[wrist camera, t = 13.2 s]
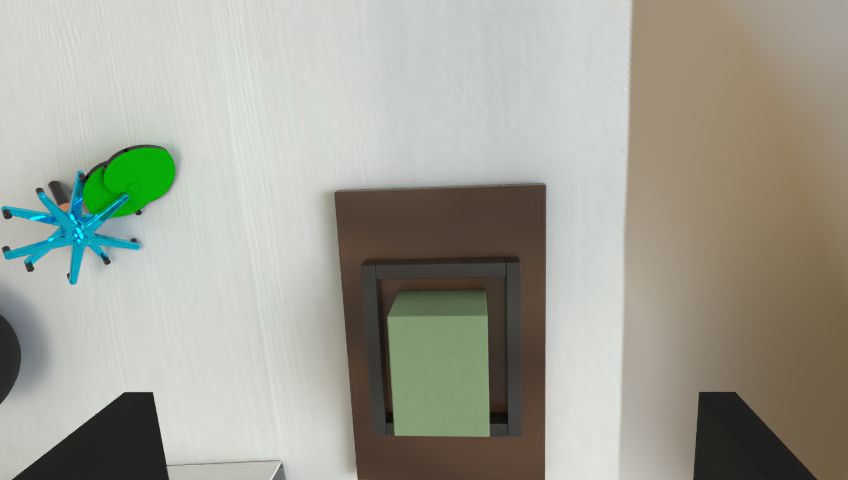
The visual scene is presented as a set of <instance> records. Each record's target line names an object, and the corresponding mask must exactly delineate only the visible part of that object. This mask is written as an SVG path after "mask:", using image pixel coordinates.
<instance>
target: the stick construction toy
mask: <svg viewBox="0 0 848 480" xmlns="http://www.w3.org/2000/svg"><path fill="white" fill-rule="evenodd" d="M174 177H175V165H174V161H173V159H172V157H171V155H170V154H169V153H168V151H167V150H166V149H165V148H163V147H160V146H155V145H137V146H132V147H128V148H126V149H123V150H121V151H119V152H117V153H116V154H114V155H113V156H112V157H111V158H110V159H109V160H108V161H105V162H103V163H100V164H99V165H97V166H95V167H94V168H93V169H92V170H90V172H89V173H88V174H87V175H86V176H85V174H84V172H83V171H81V170H79V171H77V174H76V178H75V183H74V188H73V192H72V197H71V202H70V201H69V199H68V197H67V195H66V193H65V191H64V189H63V187H62V185H61V183H60V182H59V181H52V182H50V183H49V184H48V187H49V189H50V191H51V193H52V195H53V197H54V199H55V202H56V204H57V205H56V204H55V203H54V202H53V201H52V200H51V199H50V198H49V197H48V196H47V195H46V194H45V192H44V190H43V188H37V189H36V192H37V195H38V197H39V199H40V200H41V201H42V203H43V204H44V205H45V206H46V207H47V209H48V210H49V211H50V212H51V213H52V214H51V213H45V212H39V211H33V210H27V209H21V208H15V207H9V206H3V207H2V208H1V210H2V213H3V215H4V218H5V219H10V218H12V216H17V217H21V218H26V219H30V220H34V221H39V222H43V223H47V224H52V225H56V226H60V227H59V228H58V229H57V230H56V231H55V232H54V233H53V234H52V235H51V236H50V237H49V238H48V239H47V240H45V241H42V242H38V243H35V244H32V245H28V246H25V247H22V248H18V249H15V250H10V247H8V246H5V247H3V248H2V251H3V254H4V256H5V258H6V259H13V258H17V257H22V256H26V255H30V254H31V255H30V256H29V257H28V258H27V259H26V260H25V261H24V264H25V266H26V269H27V271H28V272H32V271H33V270H34V267H33V264H34V263H35V262H36V261H37V260H39V259H40V258H41V257H42V256H44V255H45V254H46V253H47V252H49V251H50V250H51V249H55V248H59V247H63V246H67V245H72V249H71V262H70V273H68V274H67V277H68V280H69V282H70V284H71V285H74V284H76V283H77V279H78V274H79V270H80V266H81V262H82V257H83V253H84V249H85V247H87V246H89V247H90V248H91V249H92V250H93V251H94V252H95V253H96V254H97V255H98V256H100V257H101V258H102V259H103V261H104V263H105V264H106V265H108V264H110V263H111V262H110V260H109V258H108V256H107V254H106V253H105V252H104V250H103V249H102V248H101V247H100V245H103V246H111V247H119V248H126V249H134V250H138V249H140V245H139V243H138V242H137V240H136V239H131V242H130V241H126V240H121V239H117V238H113V237H108V236H104V235H100V234H95V233H94V232H95V231H96V230H97V229H98V228H99V227H100V226H101V225H102V224H103V223H104V222H105V221H106V220H107V219H110V218H114V217H121V216H125V215H129V214H132V213H134V212H135V213H136V215H141V214H142V212H141V210H140V209H141V208H143V207H144V206H145V205H147V204H148V203H149V202H152V201H154V200H156V199H158V198H160V197H161V196H162V195H164V194H165V193H166V192H167V191H168V189H169V188H170V187H171V185H172V183H173V181H174ZM83 201H84V203H85V205H86V207H87V208H88V210H89V211H90V212H91V214H86V215H82V203H83Z"/></svg>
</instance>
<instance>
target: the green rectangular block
mask: <svg viewBox="0 0 848 480" xmlns="http://www.w3.org/2000/svg"><path fill="white" fill-rule="evenodd" d="M387 322H388V338H389V354H390V370H391V387H392V403H393V419H394V434H395V436H461V437H489V436H490V419H489V366H488V316H487V303H486V291H485V290H456V291H399V292H398V294H397V296H396V299H395V301H394V303H393V305H392V308H391V310H390V312H389V314H388V317H387Z"/></svg>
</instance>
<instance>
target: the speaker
mask: <svg viewBox="0 0 848 480" xmlns="http://www.w3.org/2000/svg"><path fill="white" fill-rule="evenodd" d="M20 363H21V351H20V345H19V341H18V338H17V336H16V334H15V332H14V330H13V328H12V327H11V325H10V324H9V323H8V322H7V321H6V320H5V318H4V317H2V316H1V315H0V404H1V403H2V402H3V400H4V399H5V398H6V397H7V395H8V394H9V392H10V391H11V389H12V387H13V385H14V383H15V381H16V379H17V376H18V373H19V369H20Z"/></svg>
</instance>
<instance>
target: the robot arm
mask: <svg viewBox="0 0 848 480" xmlns="http://www.w3.org/2000/svg"><path fill="white" fill-rule="evenodd" d="M697 418H698V419H697V433H696V448H695V463H694V478H693V480H817V479H816V478H815V477H814V476H813V475H812V473H811V472H809V470H808V469H807V468H806V467H805V466H804V465H803V464H802V463H801V462H800V461H799V460H798V459H797V457H796V456H795V455H794V454H793V453H792V452H791V451H790V450H789V449H788V448H787V447H786V446H785V445H784V444H783V442H782V441H781V440H780V439H779V438H778V437H777V436H776V435H775V434H774V433H773V432H772V431H771V430H770V429H769V428H768V426H767V425H766V424H765V423H764V422H763V421H762V420H761V419H760V418H759V417H758V416H757V415H756V414H755V413H754V412H753V410H752V409H751V408H750V407H749V406H748V405H747V404H746V403H745V402H744V401H743V400H742V399H741V398H740V397H739V396H738V394H737V393H736V392H699V402H698V417H697ZM12 480H169V476H168V470H167V465H166V460H165V454H164V449H163V444H162V438H161V433H160V428H159V423H158V417H157V412H156V407H155V401H154V396H153V392H124V393H123V394H122V395H120V396H119V397H118V398H117V399H115V400H114V401H113V402H111V403H110V404H109V405H107V406H106V407H105V408H104V409H102V410H101V411H100V412H98V413H97V414H96V415H95V416H93V417H92V418H91V419H89V420H88V421H87V422H86V423H84V424H83V425H82V426H80V427H79V428H78V429H77V430H75V431H74V432H73V433H71V434H70V435H69V436H68V437H66V438H65V439H64V440H62V441H61V442H60V443H59V444H57V445H56V446H55V447H53V448H52V449H51V450H50V451H48V452H47V453H46V454H44V455H43V456H42V457H41V458H39V459H38V460H37V461H35V462H34V463H33V464H32V465H30V466H29V467H28V468H26V469H25V470H24V471H23V472H21V473H20V474H19V475H17V476H16V477H15V478H14V479H12Z"/></svg>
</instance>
